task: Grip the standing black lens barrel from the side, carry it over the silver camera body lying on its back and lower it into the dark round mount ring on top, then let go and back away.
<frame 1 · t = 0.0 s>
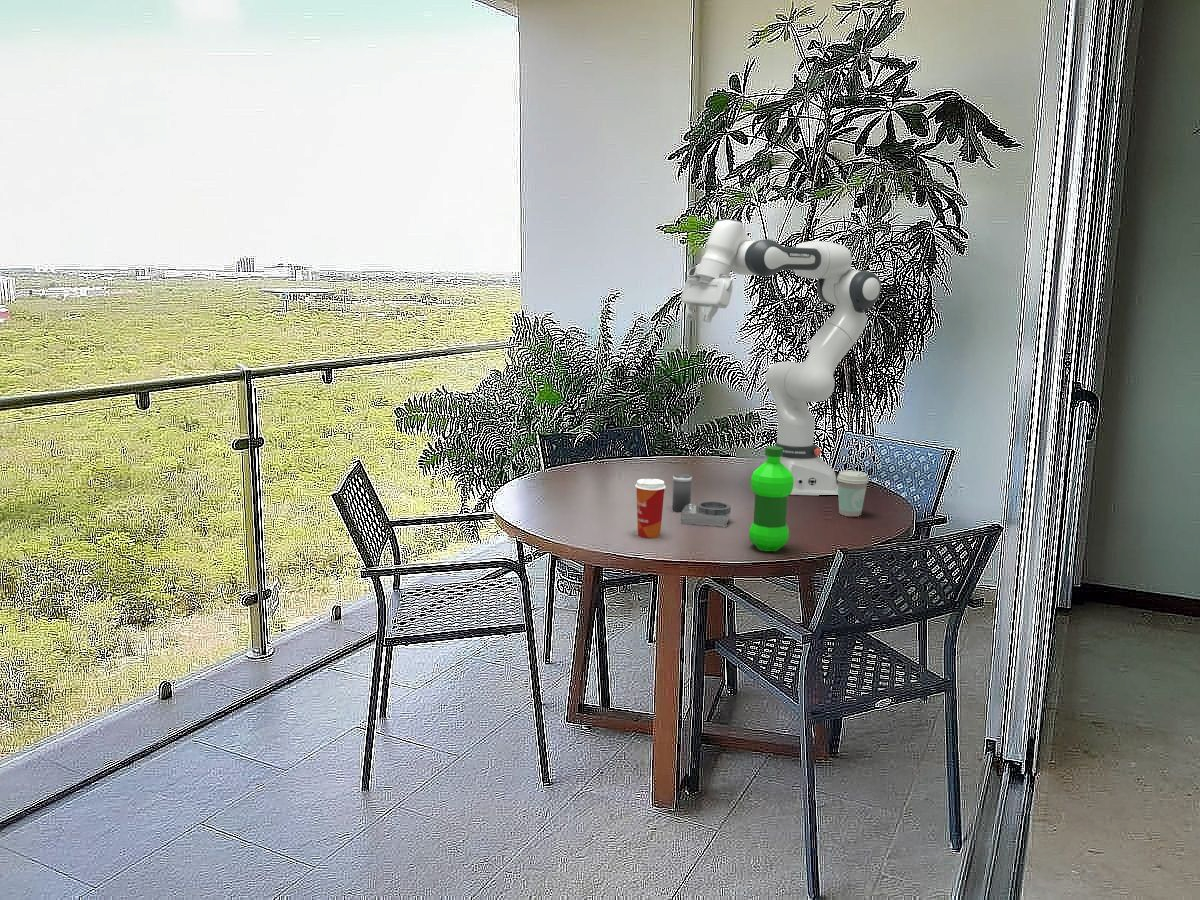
hand: (697, 320, 263), 52 cm above the table, tool tilted 20°, fingers open, 8 cm apart
paper cup: (648, 535, 235), on the table
coffee cup: (849, 516, 259), on the table
plastic bottle: (768, 549, 226), on the table
lens: (681, 510, 260), on the table
camera body: (712, 521, 249), on the table
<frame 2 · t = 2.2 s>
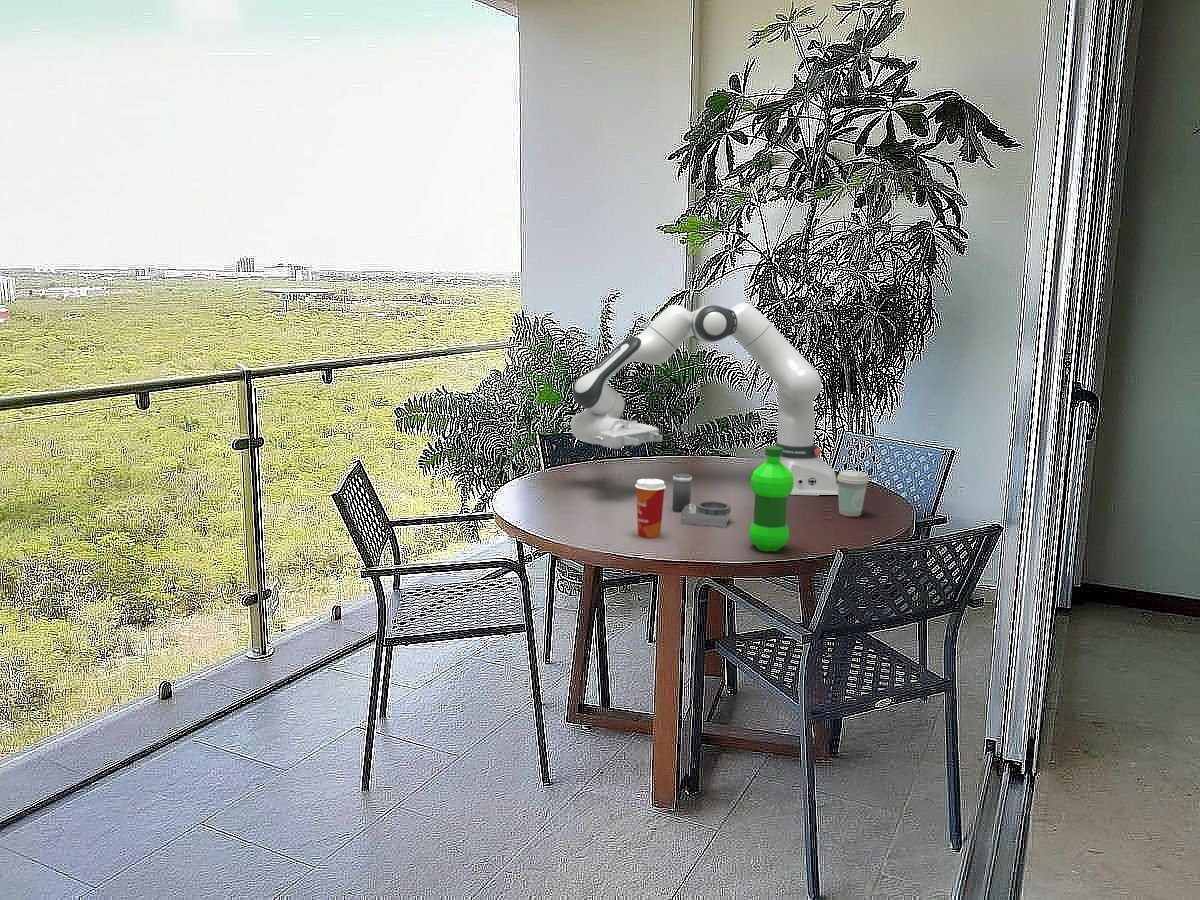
hand: (650, 440, 265), 18 cm above the table, tool horizontal, fingers open, 8 cm apart
nothing on the table moved.
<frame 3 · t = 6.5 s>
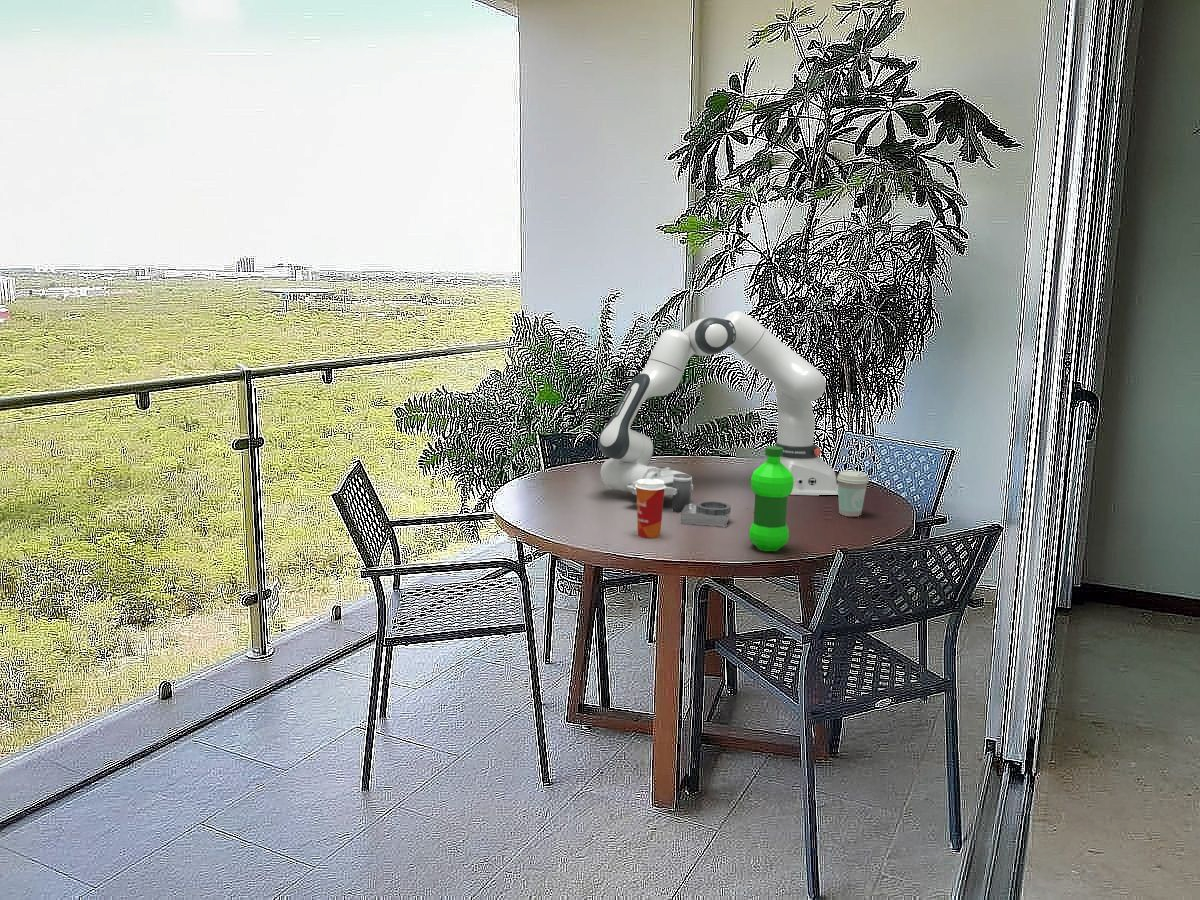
hand: (684, 490, 258), 6 cm above the table, tool horizontal, fingers closed on lens, 5 cm apart
lens: (681, 510, 260), on the table, touching gripper
everything else where it was.
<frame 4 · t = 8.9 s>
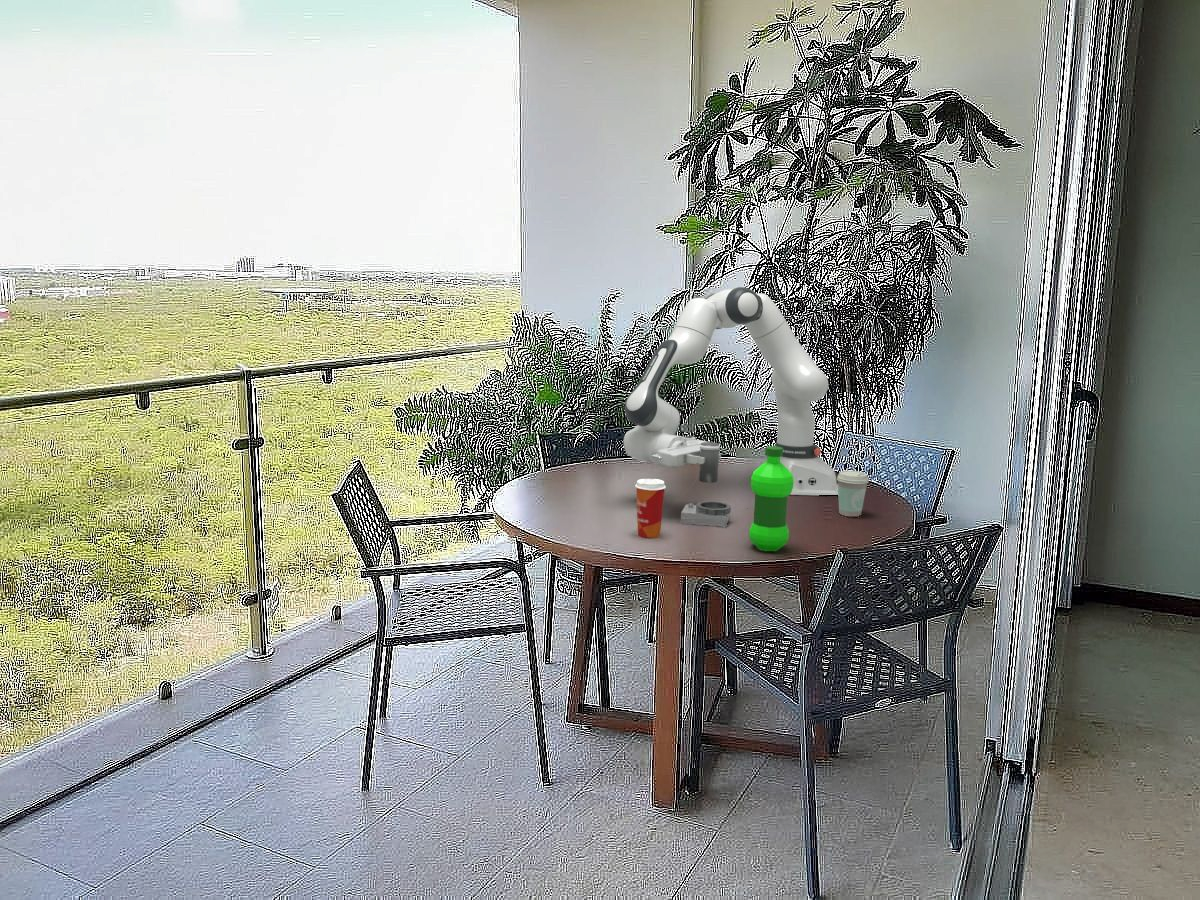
hand: (712, 459, 247), 17 cm above the table, tool horizontal, fingers closed on lens, 5 cm apart
lens: (708, 480, 249), point 11 cm above the table, touching gripper
everything else where it was.
when the fingers open (10 cm above the table, at t = 11.3 s): lens stays where it is, resting on camera body.
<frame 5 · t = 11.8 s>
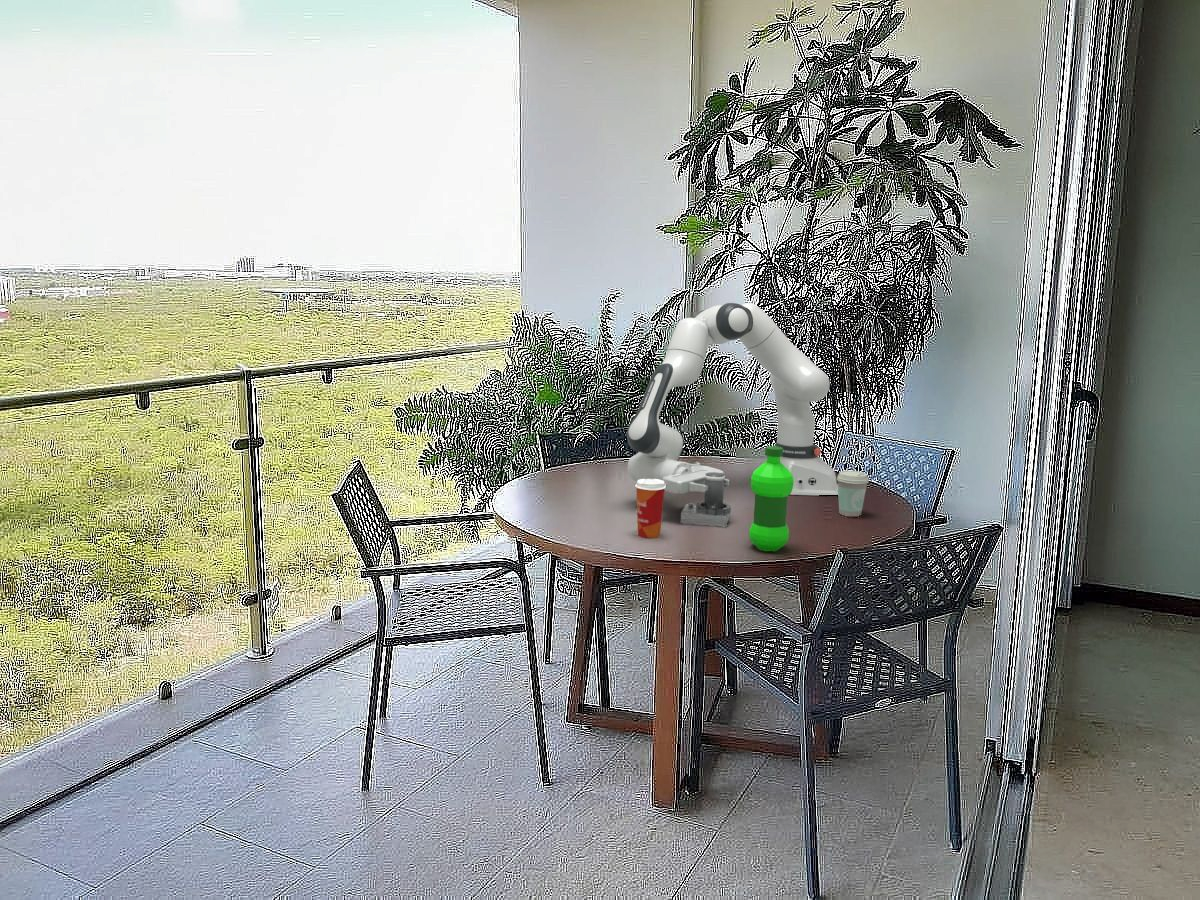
hand: (717, 486, 247), 10 cm above the table, tool horizontal, fingers open, 8 cm apart
lens: (713, 510, 249), point 3 cm above the table, touching camera body
everything else where it was.
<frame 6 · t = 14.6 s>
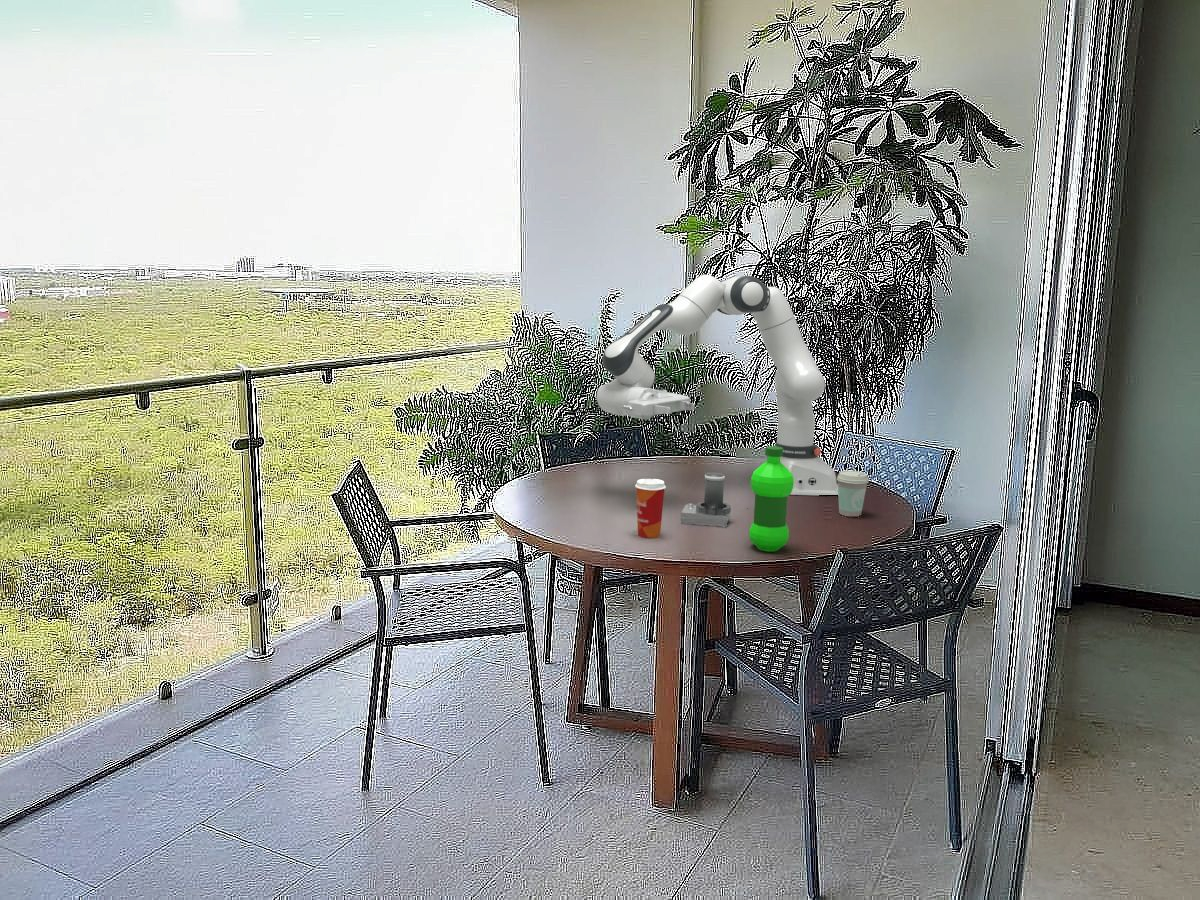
hand: (682, 408, 252), 29 cm above the table, tool horizontal, fingers open, 8 cm apart
nothing on the table moved.
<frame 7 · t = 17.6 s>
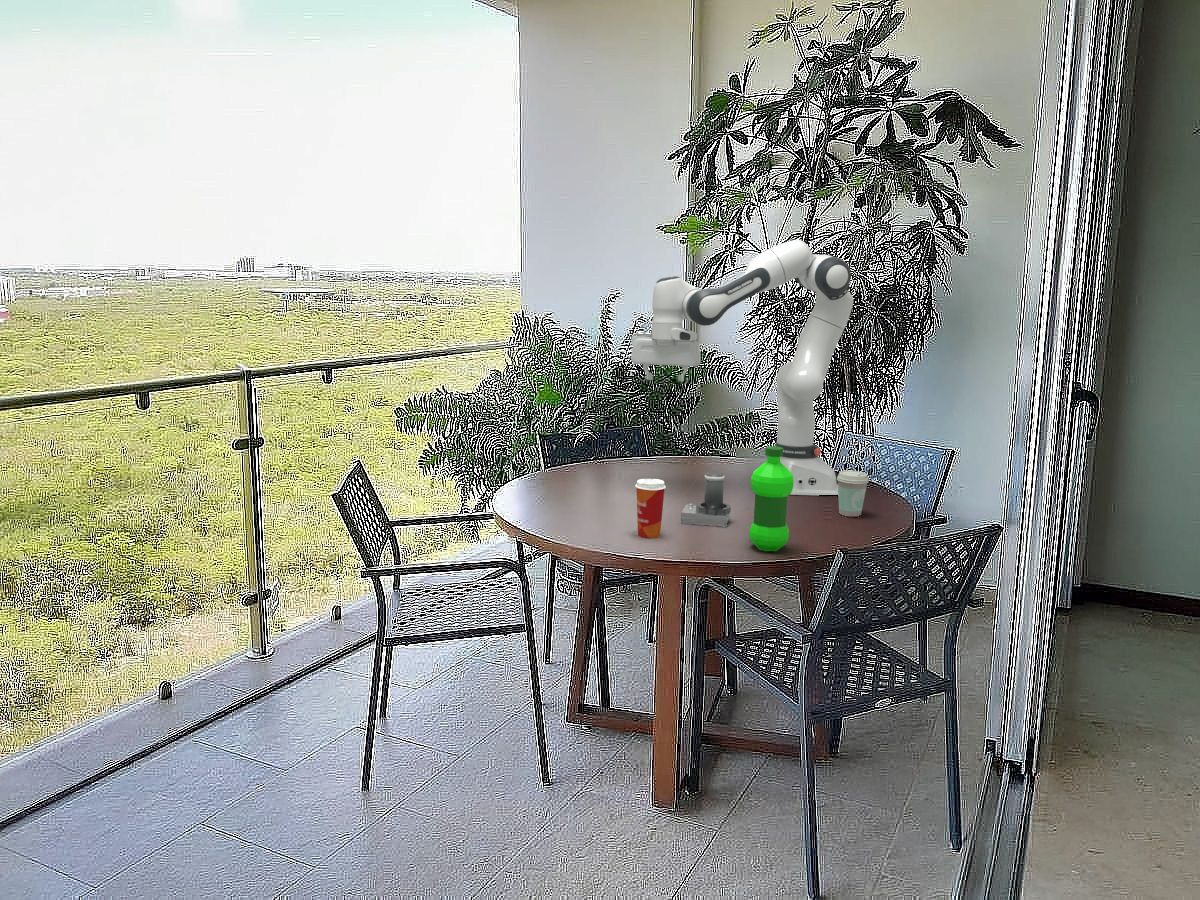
hand: (664, 380, 273), 34 cm above the table, tool pointing down, fingers open, 8 cm apart
nothing on the table moved.
at the end: lens 0.0 cm off-centre on the camera body, point 3.0 cm above the camera body's base; lens tilted 1°; the gripper is holding nothing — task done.
